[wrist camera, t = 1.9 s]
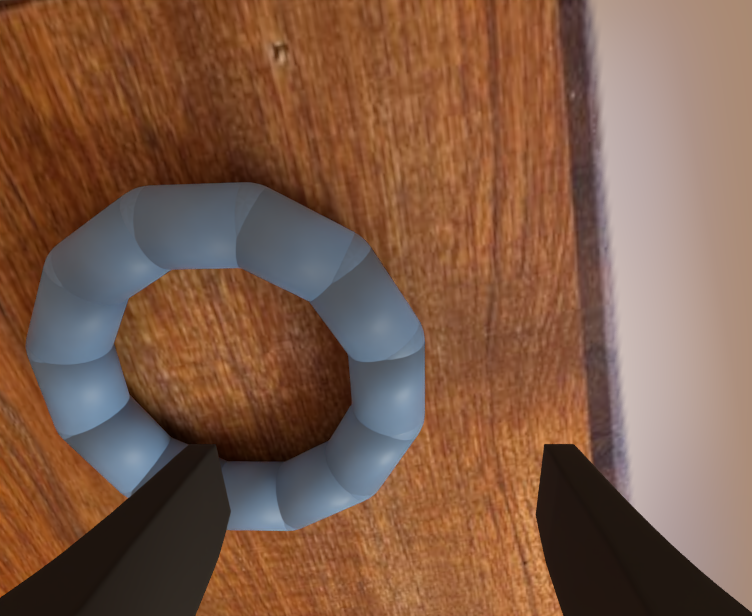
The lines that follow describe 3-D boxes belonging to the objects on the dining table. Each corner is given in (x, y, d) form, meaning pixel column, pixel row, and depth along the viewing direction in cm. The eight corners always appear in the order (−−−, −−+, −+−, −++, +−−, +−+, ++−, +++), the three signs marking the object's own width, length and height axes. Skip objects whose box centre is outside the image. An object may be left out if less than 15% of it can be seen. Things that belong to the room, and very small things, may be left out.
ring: (422, 168, 13) (425, 185, 11) (424, 496, 18) (426, 548, 16) (8, 183, 14) (-58, 201, 12) (116, 493, 19) (82, 542, 17)
